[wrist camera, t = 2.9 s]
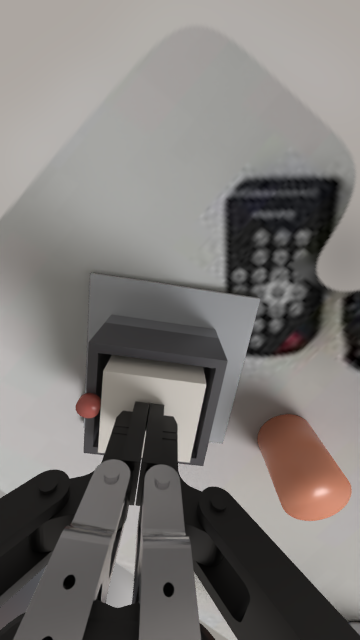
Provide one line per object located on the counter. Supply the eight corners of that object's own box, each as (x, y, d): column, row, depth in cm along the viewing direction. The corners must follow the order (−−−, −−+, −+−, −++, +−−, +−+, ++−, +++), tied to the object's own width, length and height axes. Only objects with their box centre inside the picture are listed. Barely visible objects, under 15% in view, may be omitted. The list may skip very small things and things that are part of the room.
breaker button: (201, 356, 15) (206, 384, 12) (187, 424, 17) (189, 462, 14) (117, 345, 15) (103, 370, 12) (111, 415, 17) (97, 452, 14)
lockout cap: (319, 417, 20) (362, 473, 16) (302, 460, 22) (337, 523, 17) (265, 411, 20) (292, 466, 15) (251, 454, 21) (272, 517, 17)
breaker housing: (258, 297, 17) (293, 325, 12) (222, 439, 21) (236, 508, 16) (92, 272, 16) (52, 290, 11) (85, 424, 20) (53, 490, 15)
